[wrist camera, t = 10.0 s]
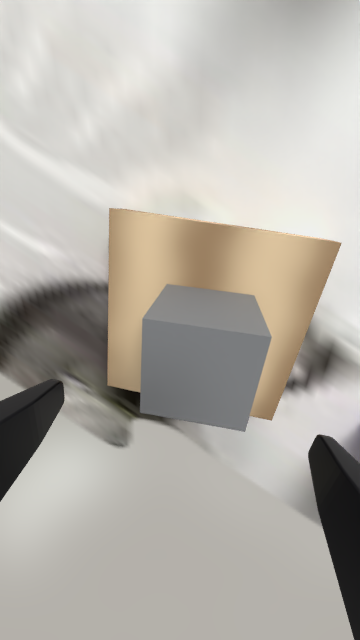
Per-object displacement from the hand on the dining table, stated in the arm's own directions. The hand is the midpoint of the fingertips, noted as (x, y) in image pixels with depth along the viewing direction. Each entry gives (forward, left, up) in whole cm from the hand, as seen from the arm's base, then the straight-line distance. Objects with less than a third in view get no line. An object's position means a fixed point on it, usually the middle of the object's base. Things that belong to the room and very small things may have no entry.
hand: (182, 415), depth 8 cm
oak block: (0, 0, -10) cm, 10 cm away
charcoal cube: (0, 0, -7) cm, 7 cm away
